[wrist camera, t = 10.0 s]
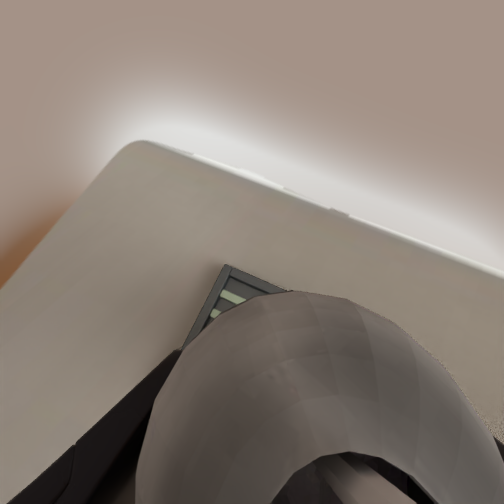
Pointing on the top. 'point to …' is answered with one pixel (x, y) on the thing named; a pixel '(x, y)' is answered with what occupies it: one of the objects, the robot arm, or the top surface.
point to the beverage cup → (313, 414)
